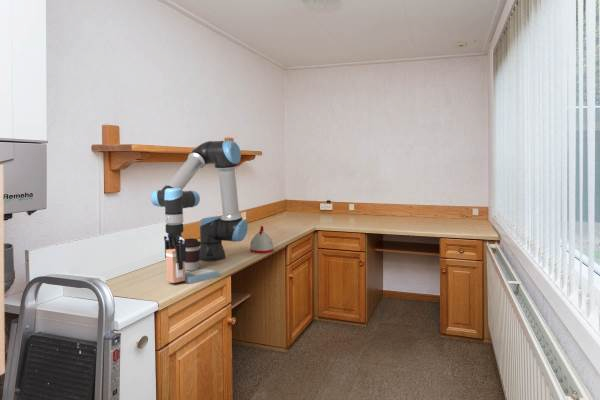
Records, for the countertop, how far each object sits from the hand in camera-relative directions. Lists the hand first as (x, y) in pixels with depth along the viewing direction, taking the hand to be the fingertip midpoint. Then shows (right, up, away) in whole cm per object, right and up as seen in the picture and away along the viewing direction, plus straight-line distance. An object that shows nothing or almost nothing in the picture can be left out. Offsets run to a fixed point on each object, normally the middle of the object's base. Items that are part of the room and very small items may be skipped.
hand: (175, 275), depth 197 cm
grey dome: (+32, +3, +70) cm, 77 cm away
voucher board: (+8, -3, +9) cm, 12 cm away
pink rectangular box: (0, -2, 0) cm, 2 cm away
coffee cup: (0, -1, +26) cm, 26 cm away
